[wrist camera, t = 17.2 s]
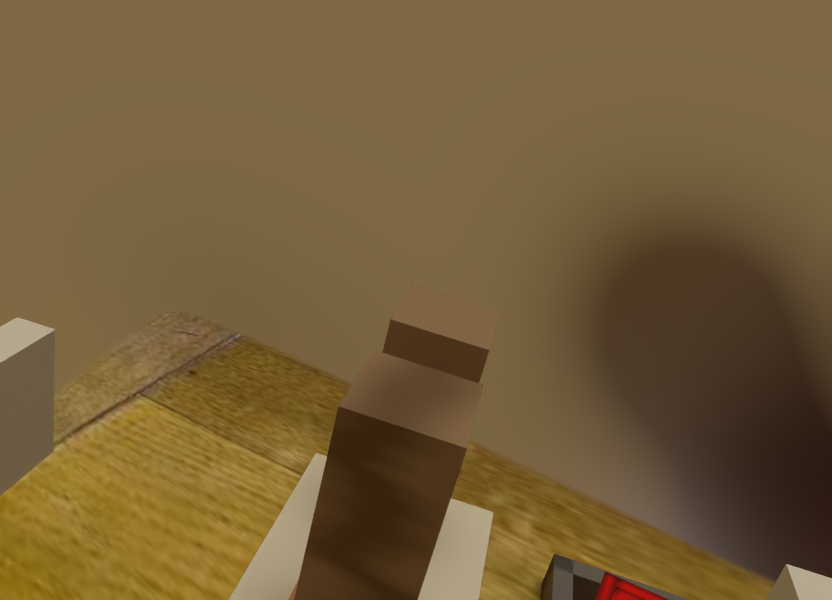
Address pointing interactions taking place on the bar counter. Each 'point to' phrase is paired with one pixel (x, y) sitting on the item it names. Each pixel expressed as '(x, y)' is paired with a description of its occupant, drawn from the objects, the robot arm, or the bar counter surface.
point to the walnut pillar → (387, 481)
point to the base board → (463, 523)
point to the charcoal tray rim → (581, 581)
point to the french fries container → (623, 590)
